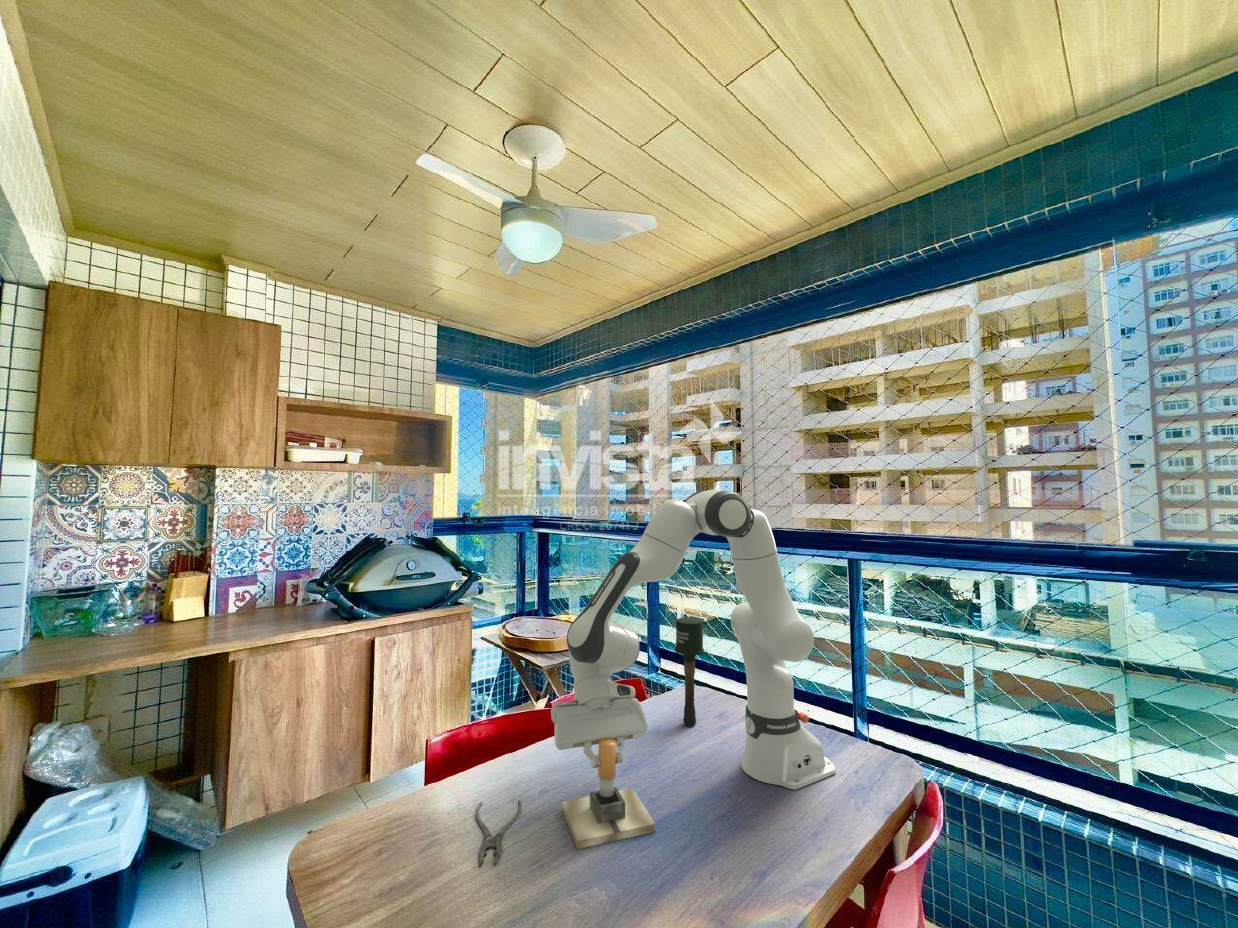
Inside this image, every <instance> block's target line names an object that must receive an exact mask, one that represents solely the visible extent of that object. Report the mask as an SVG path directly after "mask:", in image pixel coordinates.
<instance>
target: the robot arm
mask: <svg viewBox="0 0 1238 928" xmlns="http://www.w3.org/2000/svg"><path fill="white" fill-rule="evenodd" d="M700 533H703V534H706V535H709V536H720V537H725V538H726V540H727V542H728V544H729V547H730V554H731V558H732V565H733V568H734V574H735V579H736V584H737V588H738V589H739V591H740V593H741V595H743V596H744V598H745V600H746V601H745V602H741V603H739V604H737V605H736V606H735V607H734V609H732V612H731V615H730V626H731V629H732V631H733V632H734V634H735V636H736V638H737V641H738V644H739V647H740V648H739V649H740V651H741V656H742V660H743V664H744V669H745V675H746V676H745V677H746V695H747V696H746V697H747V701H746V703H747V704H746V706H745V729H746V736H745V744H744V749H743V755H742V759H741V761H740V766H741V768H742V770H743V771H744V772H745V774H747V775H748V776H750V777H751V778H752V779H755V780H757V781H760V782H763V783H767V784H769V785H778V786H781V787H784V788H787V789H790V790H799V789H801V788H803V787H806V786H808V785H811V784H813V783H815V782H818V781H820V780H823V779H826V778H828V777H830V776H832V775H834V774H836V767H835V765H834V764H833V762H832V761H831V760H830V759H829V758H828V757H826V756H825V752H824V747H823V745H822V743H821V741H820V740H819V739H818V738H817V737H816V736H814V735H813V733H811V732H810V731H809V730H808V729H806V728H805V727H804V726H803V725H801V723H800V721H801V722H802V723H804V724H807V723H808V722H809V721H810V720H809V719H810V717H809V715H808V714H806V713H804V712H802V711H800V712H799V711H798V710H797V709H796V708H795V705H794V703H795V697H794V696H795V695H794V693H795V691H794V690H795V689H794V685H795V684H794V680H793V677H792V674H791V672H790V670H789V669H788V667H787V665H786V663H785V662H792V663H799V662H802V661H804V660H805V659H807V658H808V657H809V656H810V655H811V653H812V651H813V648H814V646H815V645H814V643H815V634H814V633H813V632H814V631H813V629H812V628H811V626H810V625H809V624H808V623H807V622H806V621H805V620H804V618H803V617H802V616H801V614H800V613H799V611H798V609H797V607H796V605H795V603H794V601H793V599H792V597H791V595H790V593H789V591H788V588H787V586H786V584H785V581H784V577H783V573H782V568H781V564H780V560H779V555H778V554H779V553H778V550H777V549H778V548H777V546H776V541H775V538H774V535H773V531H772V528H771V526H770V523H769V521H768V518H767V516H766V515H765V514H764V513H763V512H761V511H760V510H757V509H752V508H750V506H749V504H748V502H747V501H746V500H745V499H744V497H742V496H741V495H739V494H738V493H737V492H734V491H732V490H722V489H708V490H700V491H697V492H694V493H692V494H690V495H689V496H688V497H687V498H686V499H685V498H684V500H680V499H667V500H665V501H663V502H662V503H661V504H660V506H659V507H658V508H657V510H656V511H655V513H654V514H653V515H652V517H651V519H650V520H649V522H648V524H647V526H646V527H645V529H644V531H643V534H642V535H641V537H640V539H639V540H638V542H637V543H636V545H635V546H633V548H632V549H631V550H629V551H628V552H626V553H623V554H622V555H621V556H620V557H619V558H618V560H616V562H615V563H614V564H613V566H612V567H611V568H610V570H609V572H608V573H607V575H606V576H605V578H604V579H603V581H602V582H601V584H600V585H599V587H598V589H596V592H595V593H594V595H593V596H592V597H591V599H590V600H589V601H588V604H586V606H585V607H584V609H583V610H582V611H581V613H579V614H578V616H576V617H575V619H574V620H573V621H572V622H571V624H570V626H569V627H568V630H567V633H566V643H567V648H568V659H569V665H570V667H569V669H570V673H571V675H572V677H573V691H574V697H575V700H569V701H560V702H559V701H558V702H557V703H556V704H554V705H553V706H552V708H551V710H550V715H551V721H552V723H553V724H554V746H555V747H556V748H557V750H559V751H562V750H570V749H577V748H582V749H583V754H585V756H586V757H587V758H588V759H589V760H590V763H591V764H590V765H591V768H592V769H596V768H597V769H598V767H599V766H600V761H599V759H600V758H599V755H595V753H594V752H593V751H592V747H593V746H597V745H599V741H600V740H602V739H613V740H615V741H616V748H617V747H618V750H617V751H616V765H618V764H619V765H621V764H623V763H624V756H623V750H624V747H625V744H626V741H628V740H634V739H636V740H637V739H641V738H643V737H645V735H646V733H647V730H648V729H649V728H648V727H649V725H648V721H647V717H646V715H645V712H644V709H643V706H642V704H641V702H640V701H639V699H637V698H635V697H636V689H635V687H633V686H631V685H627V684H621V683H619V682H618V683H617V682H615V681H613V680H612V675H613V674H617V673H620V672H623V671H625V670H627V669H629V668H631V667H632V666H633V665H634V664H635V663H636V661H637V659H638V658H639V655H640V651H641V648H640V647H641V644H640V639H639V636H638V633H637V632H636V631H635V630H634V629H631V628H629V627H626V626H625V625H622V624H619V623H614V622H612V621H610V619H611V618H612V616H613V614H614V613H615V611H616V610H617V608H618V606H619V605H620V603H621V602H622V600H624V597H625V596H626V594H627V593H628V591H630V590H631V589H632V588H633V587H634V586H635V587H636V586H637V585H640V584H644V583H653V582H654V583H655V582H661V581H664V580H668V579H670V578H671V577H673V576H674V575H675V573H676V572H677V571H678V569H679V568H680V567H681V564H682V562H683V560H684V557H685V556H686V553H687V551H688V549H689V547H690V544H691V542H692V541H693V539H694V538H695V537H696V536H697V535H699V534H700Z"/></svg>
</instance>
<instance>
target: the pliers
mask: <svg viewBox="0 0 1238 928" xmlns="http://www.w3.org/2000/svg"><path fill="white" fill-rule="evenodd" d="M522 803H523V802H522V800H521V799H519V800H518V809H517V811H516V813H515V815H514V816H513V818H512V819H510V820H508V822H507V823H506V824H505V825H504V826H502V827H501V829H500V830H499V831H498V832H497V833H496V834H495V835H492V833H491V832H490V829H489V827H487V825H486V824H485V823H484V822H483V820H482V819H481V817H480V810H481V808H482V806H483V802H482V801H480V803H478V805H477V807H476V809H475V821H476V823H477V826H478V827H479V828H480V830H481V832H482V833H483V836H484V837H483V839H484V840H483V842H482V844H481V847H480V848H479V852H478V853H477V854H478V866H479V868H481V867H482V866H483V864H484V860H485V858H486V857H487V855H488V851H490V849H492V850H494V851H493V856H494V860H493V861H494V867H497V865H498V863H499V861H500V859H501V857H502V856H503V845H502V844H503V843H502V841H503V838H504V836H505V834H506V833H507V831H508V830H509V829H510V828H511V826H512V825H513V824H514V823H515V822H516V821H517V820H518V819H519V817H520V815H521V813H522V809H523V804H522Z"/></svg>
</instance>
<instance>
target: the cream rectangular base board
mask: <svg viewBox="0 0 1238 928" xmlns="http://www.w3.org/2000/svg"><path fill="white" fill-rule="evenodd" d="M561 809H562V812H563V815H564V817H565V821H566V823H567V826H568V829H569V831H570V834H571V837H572V839H573V842H574V845H575V848H576V850H581V849H584V848H585V849H586V848H590V847H594V846H598V845H602V844H607V843H611V842H615V841H620V840H624V839H630V838H633V837H638V836H642V835H647V834H650V833H655V832H656V823H655V821H654V819H653V818H652V816H651V815H650V813H649V812H648V810H647V809H646V807H645V805H644V804H643V802H642V800H641V799H640V797H639V795H638V794H637V793H636V791H635V790H634V788H633V787H632V788H627V789H621V790H620V789H618V787H616V786H614V794H613V795H612V796H610V797H603V796H601V795H600V794H599V789H598V790H593V791H589V796H585V797H579V798H573V799H569V800H564V801H562V803H561Z"/></svg>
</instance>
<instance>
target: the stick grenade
mask: <svg viewBox="0 0 1238 928" xmlns="http://www.w3.org/2000/svg"><path fill="white" fill-rule="evenodd" d="M703 622H704V621H703V620H702V619H700V618H697V617H691V616H690V617H689V616H687V617H686V616H685V617H679V618H677V619H676V621H675V648H674V652H675V653H676V654H679V655H683V672H684V709H683V720H682V721H683V724H684V726H686V727H691V728H692V727H695V725H696V723H697V717H696V708H695V674H696V656H700V655H703V654H704V653H705V648H704V636H703V635H704V627H703V626H704V623H703Z"/></svg>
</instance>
